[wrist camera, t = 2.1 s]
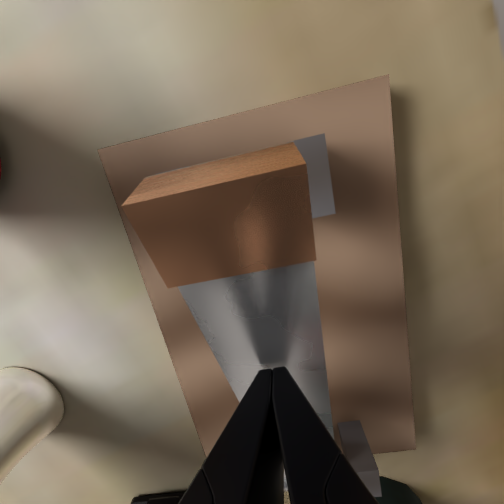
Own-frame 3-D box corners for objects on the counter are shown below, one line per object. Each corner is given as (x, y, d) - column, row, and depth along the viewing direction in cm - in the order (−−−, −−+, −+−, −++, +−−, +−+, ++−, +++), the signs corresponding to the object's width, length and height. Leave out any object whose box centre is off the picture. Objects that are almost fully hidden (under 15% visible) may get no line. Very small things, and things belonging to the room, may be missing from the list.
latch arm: (338, 455, 17) (346, 491, 15) (278, 462, 17) (281, 497, 16) (305, 134, 6) (325, 158, 4) (136, 175, 6) (105, 209, 5)
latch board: (404, 428, 19) (445, 503, 15) (214, 450, 20) (201, 524, 16) (375, 85, 13) (428, 41, 9) (113, 152, 15) (50, 142, 10)
